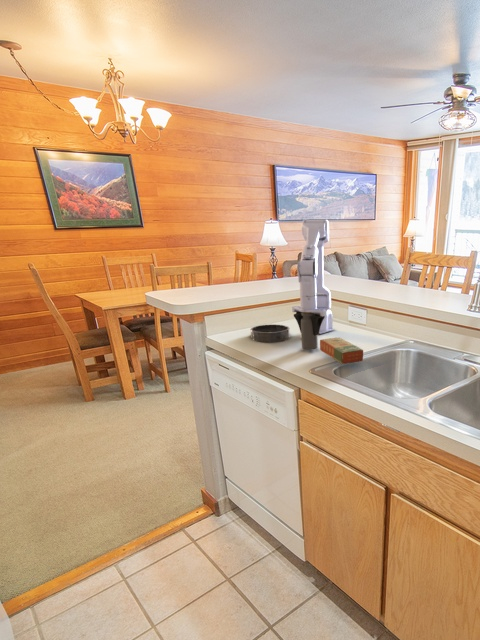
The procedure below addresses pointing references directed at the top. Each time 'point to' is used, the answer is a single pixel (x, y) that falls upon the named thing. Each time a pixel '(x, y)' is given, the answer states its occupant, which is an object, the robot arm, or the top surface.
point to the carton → (341, 350)
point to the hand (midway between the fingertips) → (309, 333)
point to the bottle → (308, 332)
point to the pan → (270, 333)
